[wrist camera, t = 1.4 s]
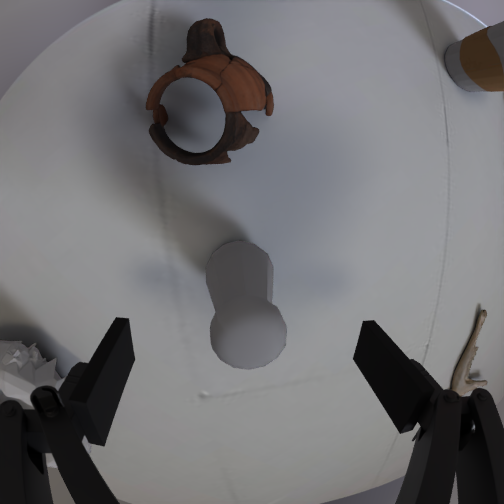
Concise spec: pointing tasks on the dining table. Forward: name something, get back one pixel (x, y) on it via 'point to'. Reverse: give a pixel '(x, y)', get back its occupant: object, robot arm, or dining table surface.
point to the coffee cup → (478, 60)
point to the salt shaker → (244, 306)
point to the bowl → (27, 378)
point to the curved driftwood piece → (468, 363)
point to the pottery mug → (226, 86)
